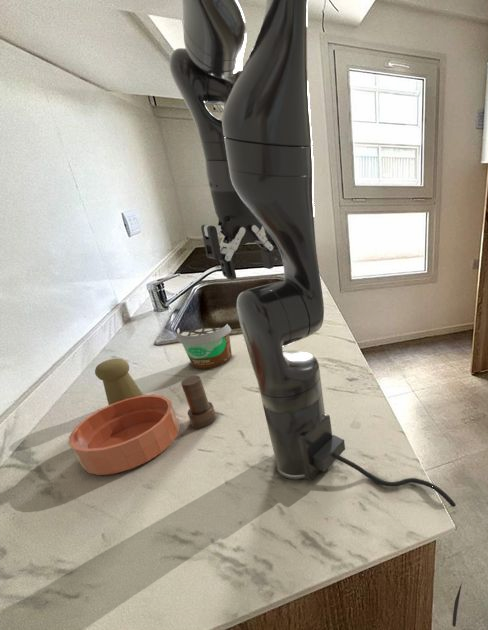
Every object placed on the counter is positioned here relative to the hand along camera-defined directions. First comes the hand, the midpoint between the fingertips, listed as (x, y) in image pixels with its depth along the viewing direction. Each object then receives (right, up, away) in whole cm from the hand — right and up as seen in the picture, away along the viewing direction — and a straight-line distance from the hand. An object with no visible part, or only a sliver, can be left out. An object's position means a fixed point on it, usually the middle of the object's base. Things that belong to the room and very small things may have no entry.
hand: (251, 273), depth 67 cm
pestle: (-10, -30, +1) cm, 32 cm away
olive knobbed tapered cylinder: (-29, -28, +5) cm, 41 cm away
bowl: (-19, -33, -5) cm, 38 cm away
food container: (-21, -22, +20) cm, 36 cm away
